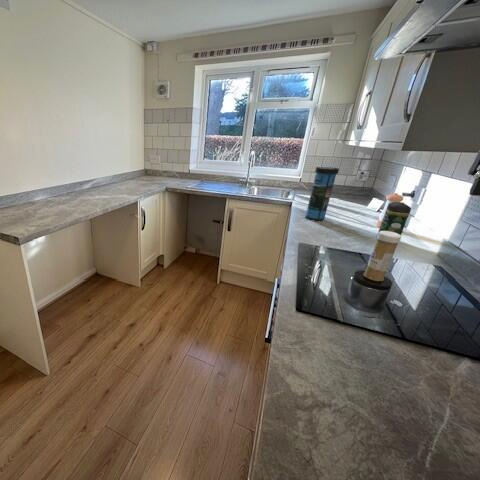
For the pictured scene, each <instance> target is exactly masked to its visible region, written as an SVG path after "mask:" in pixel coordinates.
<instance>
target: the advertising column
mask: <svg viewBox="0 0 480 480" xmlns="http://www.w3.org/2000/svg"><path fill="white" fill-rule="evenodd" d="M339 170H340V168H338V167H332V166H331V167H330V166H316V167H315V170H314V173H315V175H314V179H313V183H312V189H311V191H310V196H309V197H310V198H309V200H308V205H307V209H306V213H305V217H304V218H305V219H306V218H307V219H306V220H308V219H309V220H308V221H311V220H314V221H313V222H319V221H320V222H324V221H325V217H326V214H327V210H328V207H329V203H330V200H331V195H332V192H333V188H334V184H335V181H336V177H337V175H338V174H339ZM323 220H324V221H323Z"/></svg>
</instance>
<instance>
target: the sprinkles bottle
mask: <svg viewBox="0 0 480 480" xmlns="http://www.w3.org/2000/svg"><path fill="white" fill-rule="evenodd" d="M378 232H379V231H378ZM378 232H377V235H378V236H377V235H376V242H375V244H374V247H373V250H372V252H371V254H370V256H369V260H368V262H367V265H366V267H365V270H364V271H365V273H364V276H365V277H366V278H368V279H370V280H373V281H383V280H384V276H385V277H386V274H387V271H388V269H389V267H390V266H391V265H390V264H391V262H392V259H393V257H394V255H395V253H396V249H397V246H398V245H399V243H400V241H401V239H402V234H401V235H400V234H398V233H394V232H390V231H380V232H379V233H378Z"/></svg>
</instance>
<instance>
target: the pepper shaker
mask: <svg viewBox="0 0 480 480" xmlns="http://www.w3.org/2000/svg"><path fill="white" fill-rule="evenodd" d="M385 199H386V202H385V204H384V208H383V209H382V211H381V213H380V215H379V218H378V219H377V220H376V223H375V227H377V228H379V229H380V226H381V224H382V221H383V218H384V215H385V212H386V209H387V207H388V204H389V203H392V202H403V201H404V197H403V196H402V195H401V194H399V193H397V192H395V193H392V194H391V193H390V194H388V195H386V196H385Z"/></svg>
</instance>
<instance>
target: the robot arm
mask: <svg viewBox="0 0 480 480" xmlns="http://www.w3.org/2000/svg"><path fill="white" fill-rule="evenodd" d="M479 166H480V150H479V151H478V153H477V154H476V156H475V158H474V160H473V162H472V164H471V166H470V168H469V169H468V170H467V171H468V172H467V175H468V176H472V177H473V178H474V181H473V183H472V184H471V187H470V189H469V195H470V196H473V197H474V196H477V197H480V167H479Z"/></svg>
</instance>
